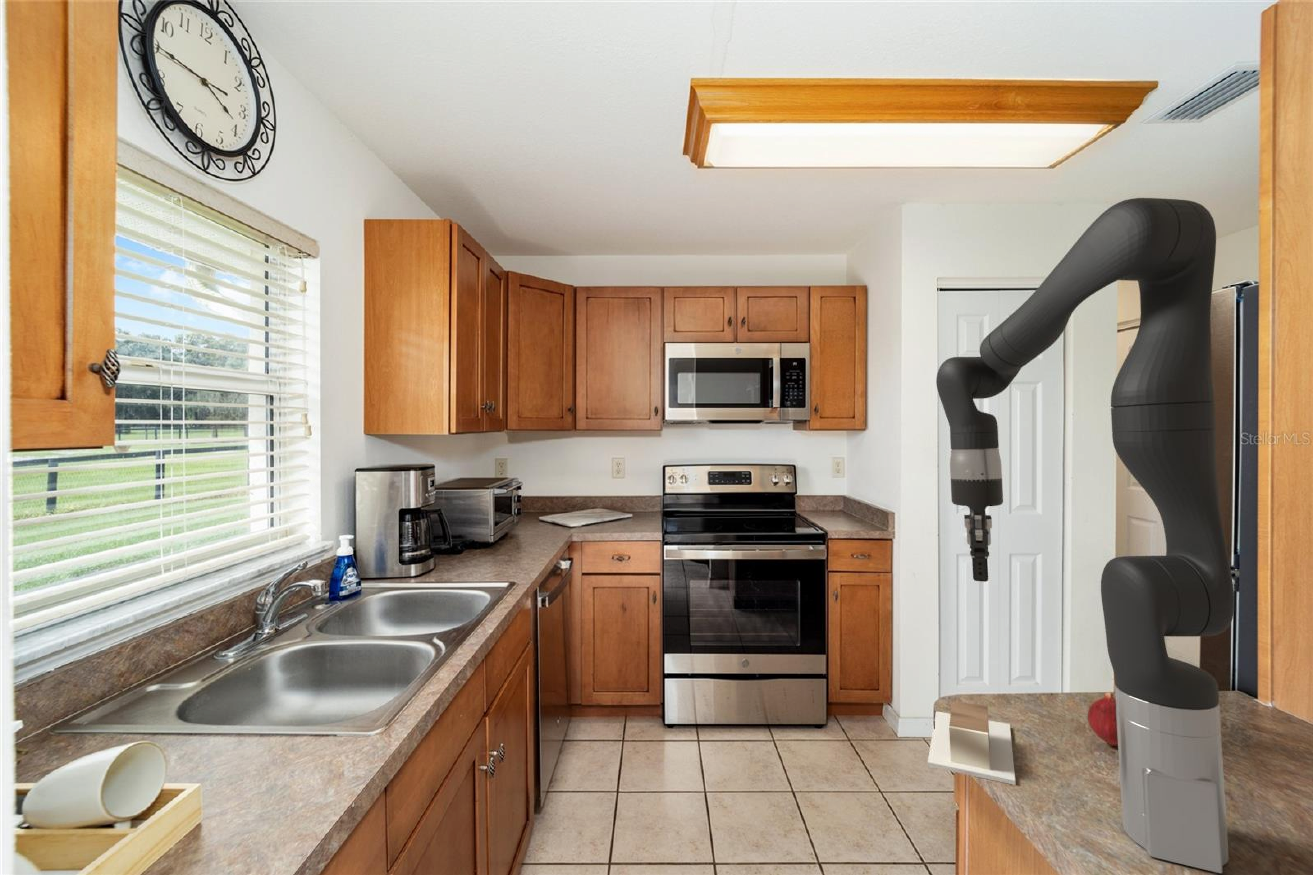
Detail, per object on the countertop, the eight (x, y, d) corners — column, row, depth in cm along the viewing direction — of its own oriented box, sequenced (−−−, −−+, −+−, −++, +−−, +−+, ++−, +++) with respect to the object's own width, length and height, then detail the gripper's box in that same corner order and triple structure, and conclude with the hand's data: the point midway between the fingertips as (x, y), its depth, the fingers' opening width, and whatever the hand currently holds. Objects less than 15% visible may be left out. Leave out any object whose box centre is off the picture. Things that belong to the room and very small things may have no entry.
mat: (1015, 785, 79) (1015, 780, 79) (927, 766, 85) (927, 762, 85) (1009, 727, 95) (1009, 724, 95) (936, 714, 100) (936, 711, 100)
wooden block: (989, 738, 91) (990, 770, 82) (953, 731, 93) (950, 761, 84) (987, 706, 91) (988, 734, 82) (952, 700, 93) (949, 727, 84)
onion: (1144, 758, 84) (1141, 703, 85) (1098, 752, 86) (1094, 699, 86) (1127, 738, 90) (1123, 687, 90) (1083, 734, 92) (1080, 684, 92)
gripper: (1004, 478, 88) (1009, 591, 88) (999, 473, 99) (1004, 573, 99) (949, 479, 91) (954, 587, 91) (951, 474, 103) (955, 570, 103)
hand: (980, 580), depth 95 cm, fingers closed
